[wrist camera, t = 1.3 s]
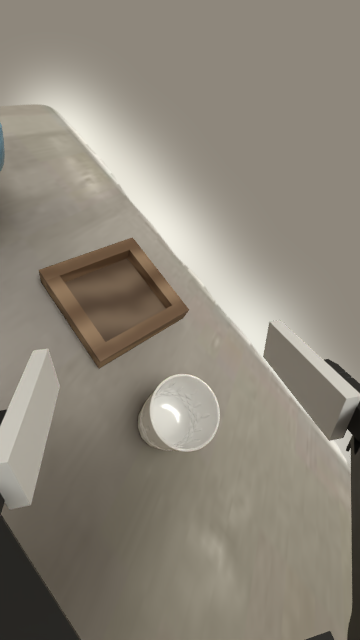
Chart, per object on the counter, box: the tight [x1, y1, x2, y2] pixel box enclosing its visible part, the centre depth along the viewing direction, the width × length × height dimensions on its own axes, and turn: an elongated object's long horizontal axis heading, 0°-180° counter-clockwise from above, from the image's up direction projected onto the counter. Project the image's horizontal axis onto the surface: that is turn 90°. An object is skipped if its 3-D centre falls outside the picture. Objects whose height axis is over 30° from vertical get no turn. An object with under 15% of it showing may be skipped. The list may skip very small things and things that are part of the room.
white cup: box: [138, 374, 220, 452], centre depth 33 cm, size 8×8×10 cm
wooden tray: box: [39, 238, 189, 368], centre depth 42 cm, size 16×16×3 cm
